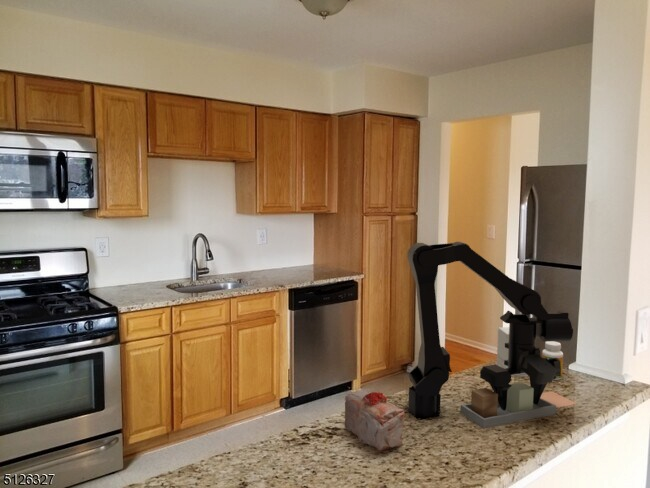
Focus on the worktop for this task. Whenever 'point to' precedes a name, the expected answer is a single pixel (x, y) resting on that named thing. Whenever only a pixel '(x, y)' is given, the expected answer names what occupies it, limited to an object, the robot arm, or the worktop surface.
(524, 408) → the sage block
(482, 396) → the walnut block
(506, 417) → the bin
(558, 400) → the coaster
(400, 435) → the food item
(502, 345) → the supplement box
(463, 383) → the worktop surface
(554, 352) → the supplement bottle
